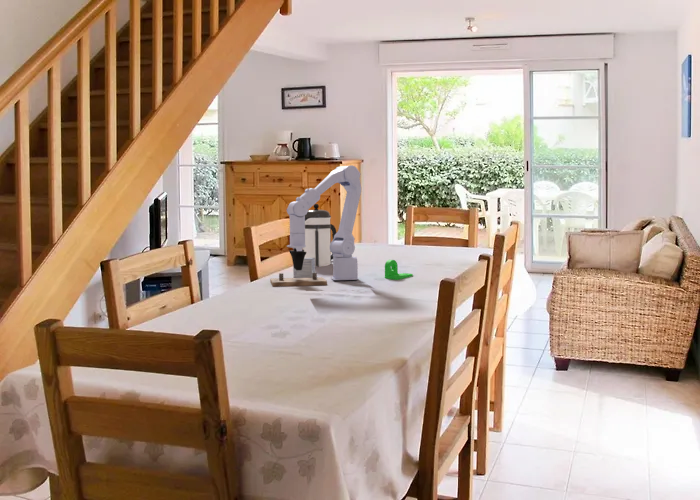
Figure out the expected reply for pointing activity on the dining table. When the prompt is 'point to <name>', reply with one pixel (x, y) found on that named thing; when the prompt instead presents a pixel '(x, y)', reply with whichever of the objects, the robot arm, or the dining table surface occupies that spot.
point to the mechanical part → (394, 271)
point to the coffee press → (318, 236)
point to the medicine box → (305, 269)
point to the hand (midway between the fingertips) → (297, 269)
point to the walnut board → (298, 281)
